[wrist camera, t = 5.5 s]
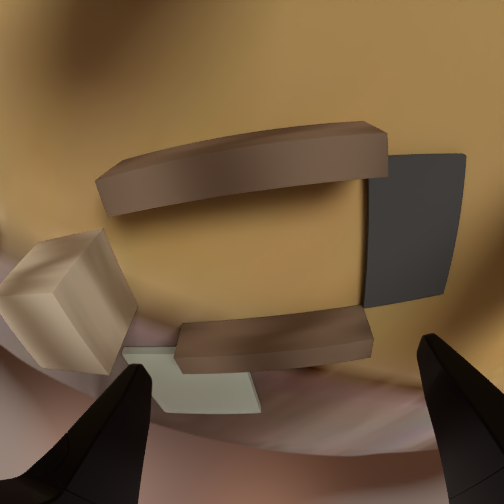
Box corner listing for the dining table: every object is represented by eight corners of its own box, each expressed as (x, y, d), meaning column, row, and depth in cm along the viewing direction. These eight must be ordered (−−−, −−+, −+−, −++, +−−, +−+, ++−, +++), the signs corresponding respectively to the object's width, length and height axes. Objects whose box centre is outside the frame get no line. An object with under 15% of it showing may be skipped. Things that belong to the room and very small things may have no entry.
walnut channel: (363, 121, 11) (387, 133, 8) (360, 323, 16) (370, 357, 14) (122, 160, 12) (94, 180, 10) (190, 340, 17) (182, 374, 15)
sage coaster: (241, 343, 17) (240, 351, 17) (260, 406, 22) (260, 412, 21) (123, 346, 18) (121, 353, 18) (166, 406, 23) (165, 412, 22)
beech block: (103, 227, 14) (52, 292, 9) (138, 304, 16) (109, 375, 12) (39, 241, 14) (-11, 297, 10) (74, 307, 17) (41, 367, 13)
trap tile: (463, 153, 11) (466, 155, 10) (441, 290, 15) (443, 293, 15) (365, 156, 11) (368, 158, 11) (362, 304, 16) (363, 308, 15)
